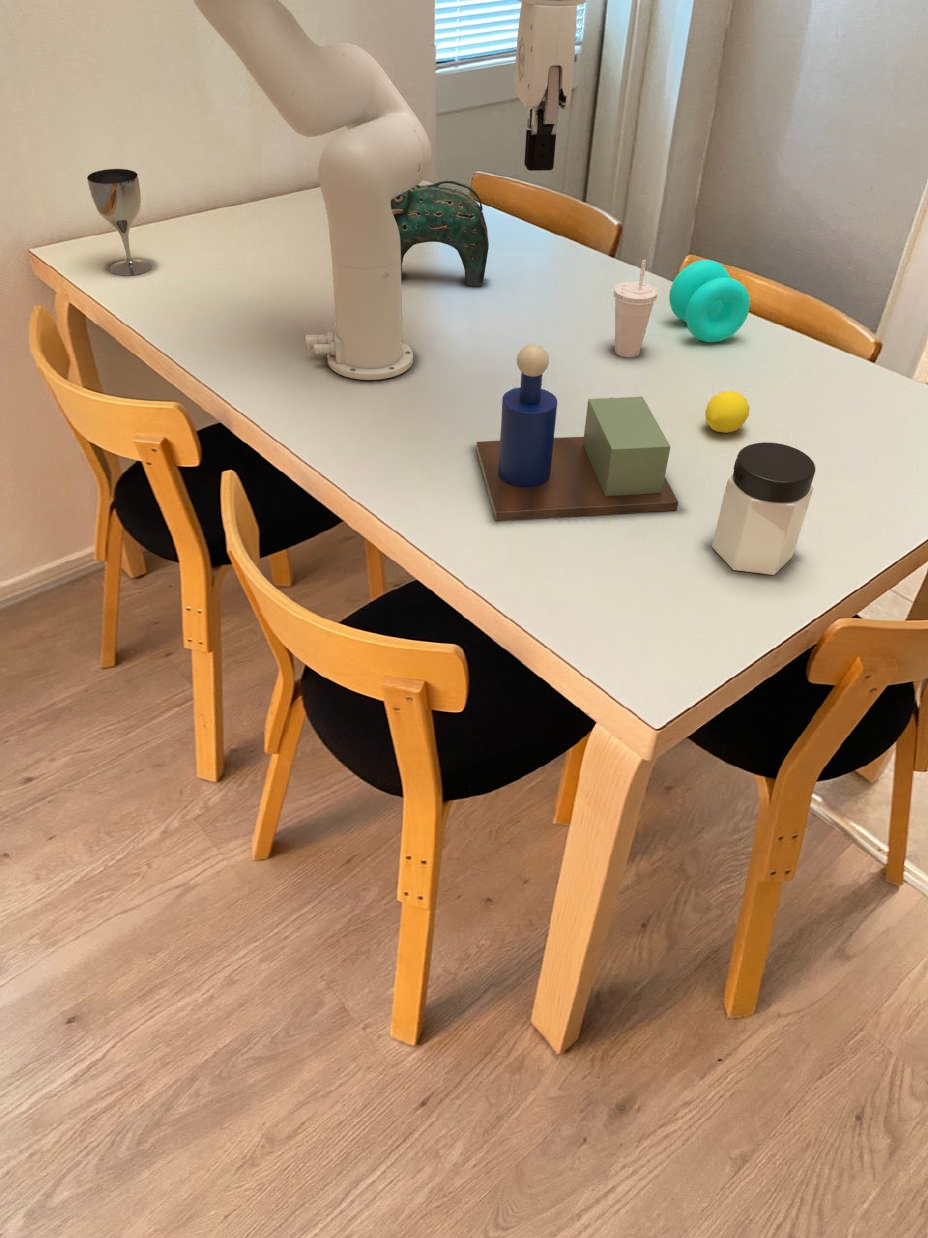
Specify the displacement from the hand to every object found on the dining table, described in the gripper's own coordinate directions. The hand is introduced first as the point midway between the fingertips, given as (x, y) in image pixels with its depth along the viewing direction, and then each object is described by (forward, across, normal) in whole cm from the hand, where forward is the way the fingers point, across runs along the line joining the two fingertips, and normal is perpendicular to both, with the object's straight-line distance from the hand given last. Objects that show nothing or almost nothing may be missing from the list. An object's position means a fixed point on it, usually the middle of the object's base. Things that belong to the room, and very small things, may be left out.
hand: (538, 167), depth 114 cm
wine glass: (+31, -54, -59) cm, 86 cm away
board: (+31, +19, +3) cm, 37 cm away
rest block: (+30, +19, +9) cm, 37 cm away
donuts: (+31, -21, +33) cm, 50 cm away
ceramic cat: (+31, -45, -8) cm, 55 cm away
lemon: (+31, +9, +26) cm, 42 cm away
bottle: (+29, +19, +2) cm, 34 cm away
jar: (+31, +36, +20) cm, 52 cm away
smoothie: (+31, -15, +19) cm, 40 cm away
